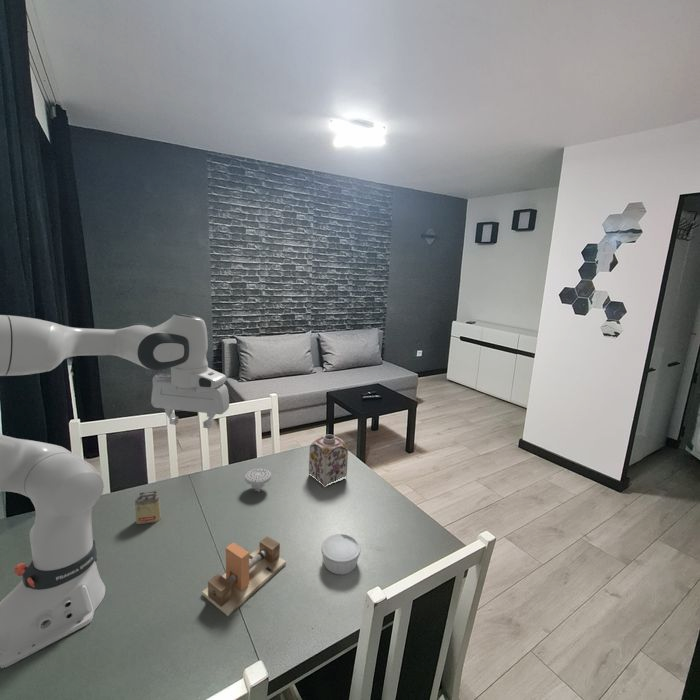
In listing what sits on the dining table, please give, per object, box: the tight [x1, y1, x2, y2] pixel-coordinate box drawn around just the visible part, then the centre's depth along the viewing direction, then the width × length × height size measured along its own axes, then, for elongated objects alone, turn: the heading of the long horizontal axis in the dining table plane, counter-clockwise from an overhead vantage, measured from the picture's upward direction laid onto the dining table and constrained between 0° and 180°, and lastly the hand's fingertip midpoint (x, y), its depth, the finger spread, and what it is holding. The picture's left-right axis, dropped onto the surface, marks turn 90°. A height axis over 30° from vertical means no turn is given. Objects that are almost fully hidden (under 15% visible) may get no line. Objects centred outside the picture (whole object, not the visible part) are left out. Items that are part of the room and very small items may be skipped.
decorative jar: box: [308, 434, 349, 486], centre depth 147 cm, size 12×12×18 cm
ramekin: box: [321, 533, 362, 575], centre depth 104 cm, size 11×11×5 cm
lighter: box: [134, 489, 162, 525], centre depth 116 cm, size 7×4×10 cm, turn 109°
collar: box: [225, 541, 250, 591], centre depth 94 cm, size 2×6×10 cm, turn 57°
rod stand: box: [201, 535, 287, 617], centre depth 97 cm, size 20×10×6 cm, turn 147°
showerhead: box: [244, 468, 272, 493], centre depth 136 cm, size 9×7×10 cm
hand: (190, 425), depth 97 cm, fingers open, 8 cm apart
